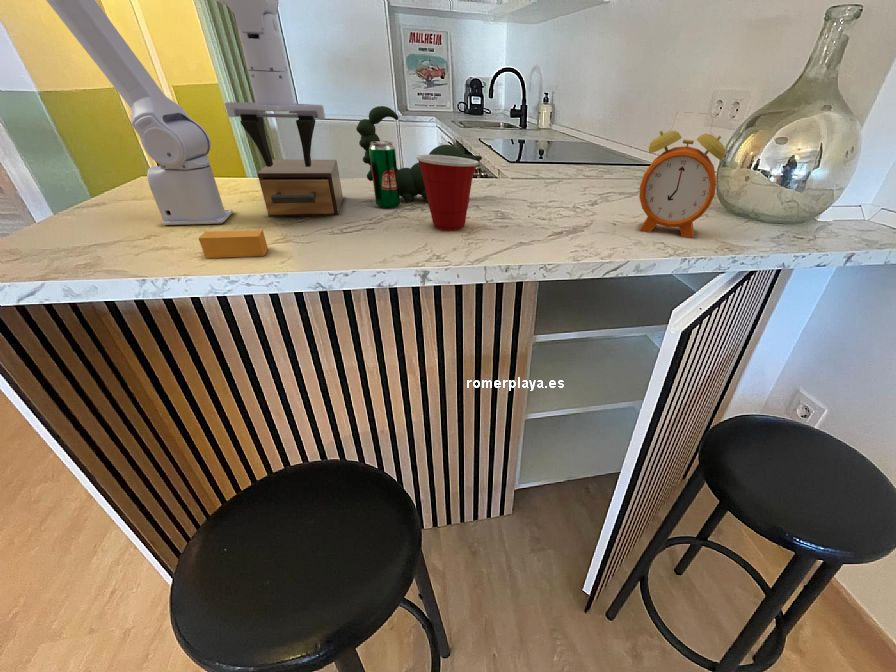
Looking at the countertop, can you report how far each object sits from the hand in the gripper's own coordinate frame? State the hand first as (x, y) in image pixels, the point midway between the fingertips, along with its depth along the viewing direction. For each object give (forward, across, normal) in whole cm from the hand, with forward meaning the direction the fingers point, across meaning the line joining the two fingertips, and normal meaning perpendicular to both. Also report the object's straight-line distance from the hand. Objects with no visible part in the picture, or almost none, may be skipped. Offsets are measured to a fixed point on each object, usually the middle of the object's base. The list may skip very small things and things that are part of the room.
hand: (289, 165), depth 78 cm
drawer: (+9, 0, +6) cm, 10 cm away
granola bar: (+9, -7, -17) cm, 21 cm away
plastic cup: (+10, +27, -6) cm, 29 cm away
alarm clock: (+10, +69, -13) cm, 71 cm away
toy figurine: (+10, +24, +15) cm, 30 cm away
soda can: (+10, +16, +10) cm, 21 cm away
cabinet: (+9, 0, +11) cm, 14 cm away
